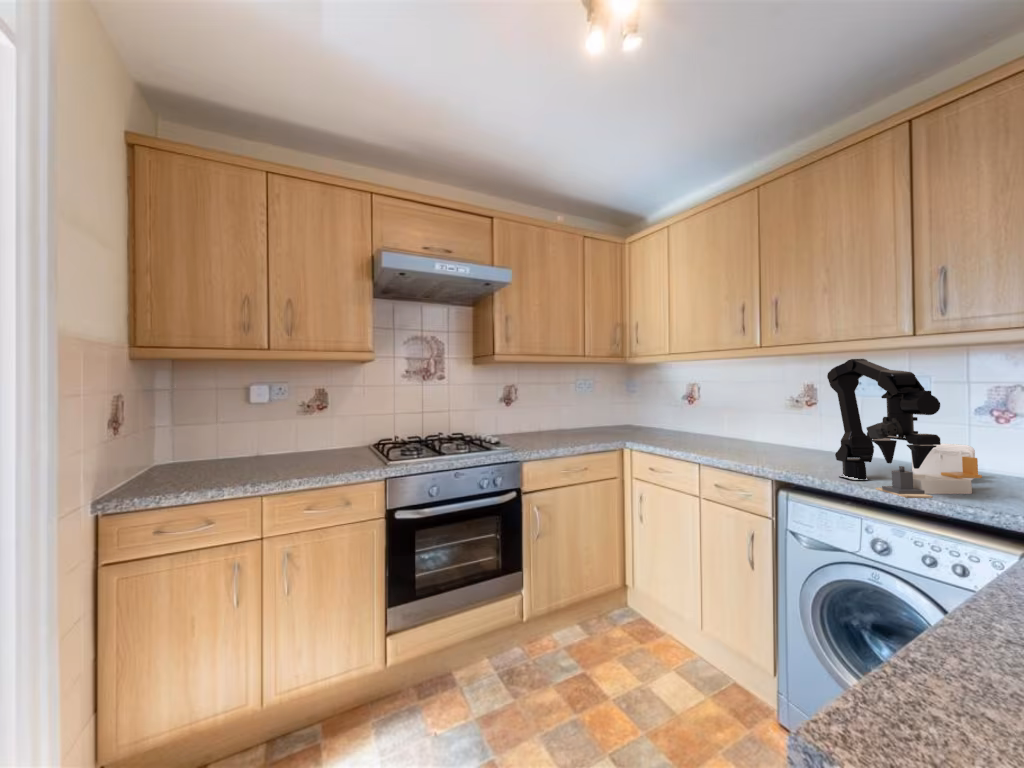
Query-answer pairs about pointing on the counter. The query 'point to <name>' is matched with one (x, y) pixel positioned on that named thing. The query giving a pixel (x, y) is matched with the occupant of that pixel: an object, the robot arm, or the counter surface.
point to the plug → (902, 483)
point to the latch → (966, 469)
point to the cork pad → (908, 494)
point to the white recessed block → (941, 484)
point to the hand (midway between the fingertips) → (902, 465)
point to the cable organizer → (945, 459)
